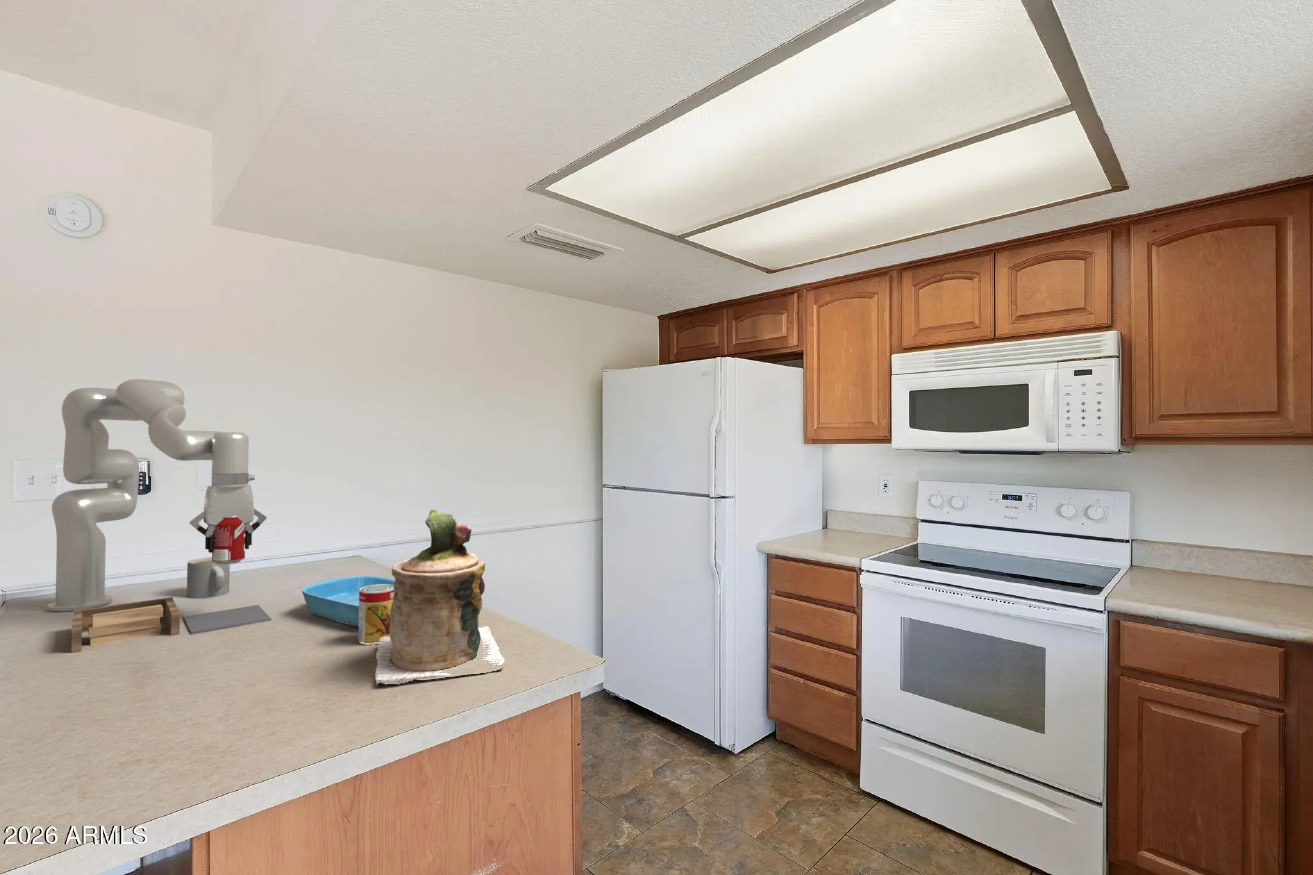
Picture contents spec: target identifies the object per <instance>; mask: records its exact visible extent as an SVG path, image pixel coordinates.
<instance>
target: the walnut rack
mask: <svg viewBox="0 0 1313 875" xmlns="http://www.w3.org/2000/svg"><path fill="white" fill-rule="evenodd" d="M156 605H162V607H163V617H160V621H161V620H164V621H165V623H166V626H167V629H168V631H169V633H170V636H177V635H180V630H181V629H180V628H181V627H180V626H181V625H180V624H181V616H180V615H181V612H180V610H179V609H178V607H177V604H176V602H175V600H174V598H173V597H172V596H171V597H165V598H157V599H149V600H143V601H135V602H128V603H119V604H113V605H103V606H98V607H93V608H88V609H82V610H74V611H73V614H72V623H71V649H70V650H71V653H77V652H81V651H82V645H83V644H82V642H83V639H82V638H83V637H82V636H83V633H84V632H83V631H85V632H88V630H89V624H92V615H93V614H100V613H107V612H114V611H121V610H128V609H135V608H142V607H149V606H156Z"/></svg>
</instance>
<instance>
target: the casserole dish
mask: <svg viewBox="0 0 1313 875" xmlns="http://www.w3.org/2000/svg"><path fill="white" fill-rule="evenodd" d="M377 584H391V585H394V584H395V578H389V577H385V576H378V575H357V576H356V575H355V576H354V575H353V576H347V577H343V576H342V577H337V578H330V579H323V580H321V581H317V582H315V583H313V584H310V585H307V586H304V587H303V588H302V589H301V592H302V595H303V598H304V602H305V604H306V606H307V609H308V610H309V611H310V612H311V613H312V614H315V615H316V614H317V615H316V616H318V617H321V616H322V617H321V618H324V617H326V618H325V619H327V618H329V619H328V620H331V619H333V620H332V621H334V620H337V621H336V622H339V621H340V622H339V623H341V622H343V623H342V624H345V623H347V624H346V625H348V624H350V626H352V625H354V626H353V627H357V626H359V590H360V589H361V588H363V587H365V586H370V585H377Z"/></svg>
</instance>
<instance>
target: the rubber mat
mask: <svg viewBox="0 0 1313 875" xmlns="http://www.w3.org/2000/svg"><path fill="white" fill-rule="evenodd" d="M265 620H270V621H272V618H271V617H270V615H269V614H268V613H267V612H266V611H265V610H264V609H263V608H261V606H260V605H259V604H255V605H249V606H248V605H247V606H243V607H236V608H229V609H223V610H218V611H210V612H205V613H198V614H192V615H185V616H183V621H184V622H185V625H186V626H187V628H188V631H189V632H190V634H191V635H194V634H201V633H206V632H212V631H217V630H218V629H219V630H222V629H223V630H225V629H229V628H236V627H241V625H242V626H245V625H244V624H247V625H251V623H253V624H255V623H254V622H259V623H262V622H261V621H265ZM265 622H266V621H265ZM235 626H236V627H235Z"/></svg>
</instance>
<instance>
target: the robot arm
mask: <svg viewBox="0 0 1313 875" xmlns="http://www.w3.org/2000/svg"><path fill="white" fill-rule="evenodd" d="M185 398H186V397H185V394H184V391H183V390H182V389H181V388H180V386H178V385H176V384H175V383H172V382H170V381H163V380H154V379H152V380H151V379H140V378H137V379H136V378H135V379H134V378H133V379H128V380H125V381H123V382H121V383H120V384H118V386H117V387H116V389H115V388H104V387H82V388H77V389H74V390H72V391H71V392H69V393H68V394H67V395H66V396H65V398H64V400H63V401H62V405H61V416H62V420H63V426H64V431H65V438H64V448H63V449H64V452H63V461H62V462H63V466H62V467H63V468H62V471H63V477H64V479H65V481H67V483H71V484H73V485H74V484H76V485H96V484H97V485H99V484H106V487H100V488H97V487H93V488H80V489H79V488H78V489H73V490H68V491H64V492H62V493H60V494H58V495H57V496H56V497H55V498H54V500H53V501H52V503H51V512H52V513H51V514H52V517H53V520H54V526H55V532H56V533H55V534H56V535H55V536H56V556H55V557H56V560H55V562H56V565H55V566H56V567H55V569H56V570H55V600H54V601H52V602H50V603H48V604H47V605H46V610H47V611H50V612H71V611H75V610H82V609H90V608H97V607H103V606H106V605H108V604H110V603H111V602H113V596H112V595H107V594H106V593H105V592H106V591H105V590H106V589H105V588H106V553H107V552H106V551H107V550H106V548H107V546H106V543H107V542H106V536H105V534H104V533H103V532H102V530H101V529H100V528H99V526H98V525H97V524H99V523H104V522H113V521H121V520H124V519H125V520H126V519H127V518H130V517H131V516H132V515H133V514H134V512H135V511H136V508H137V505H138V496H139V493H138V492H139V479H140V465H139V460H138V459H137V456H135V455H134V453H133V452H131V451H129V450H126V449H120V448H117V449H115V448H113V449H111V448H109V440H110V434H109V431H108V429H107V428H106V426H105V425H104V424H103V423H102V422H101V420H103V421H104V420H106V421H107V420H108V421H109V420H110V421H131V422H132V421H133V422H138V421H143V422H144V423H145V424H146V425H148V431H147V432H148V436H149V439H150V442H151V443H152V445H153V446H154V447H156V449H158V450H159V451H160V452H162V453H163V454H165V455H166V456H167V457H169V458H171V459H174V460H176V461H182V462H183V461H184V462H187V461H191V462H192V461H211V485H209V486H207V487H206V491H205V496H204V497H205V498H204V506H203V511H202V512H201V513H199V514H198V515H197V516H195V517H193V519H192V518H191V520H190V521H189V525H191V526H192V527H193V528H194V529H195V530H197V531H198V532H199V533H201V534H202V535H203V536H204V537H205V541H204V546H205V547H204V549H205V550H207V551H208V553H210V554H212V552H214V537H213V536H212V535H213V531H214V530H215V526H216V525H217V524H218V523H219V522H220V521H222V520H223V517H231V516H239V517H238V518H239V519H240V520H242V521H243V522H244V524H245V550H249V549H250V546H252V545H253V540H252V539H253V533H254V532H255V531H256V530H258V528H259V527H260V526H261V525H262V524H263V523H264V522H265V521H266V520H267V516H266V515H265V514H263V513H262V512H260V511H259V510H257V509H256V508H254V495H253V490H252V484H249V482H251V481H255V480H256V477H255V475H254V474H253V475H252V474H249V447H250V446H249V443H250V441H249V436H248V434H247V433H244V432H237V431H236V432H231V431H230V432H227V431H226V432H225V431H214V430H212V431H210V430H183V429H181V428H179V427H180V425H182V423H184V421H185V419H186V415H187V412H186V409H185V406H184V404H185ZM255 517H257V519H256V521H254V519H255ZM202 520H203V522H204V524H206V526H207V527H206V528H204V527H203V526H202V524H199V523H200V522H201V521H202ZM253 521H254V522H253ZM251 523H252V524H251Z"/></svg>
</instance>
